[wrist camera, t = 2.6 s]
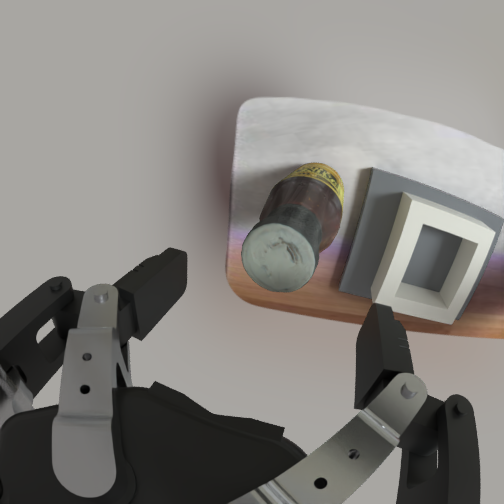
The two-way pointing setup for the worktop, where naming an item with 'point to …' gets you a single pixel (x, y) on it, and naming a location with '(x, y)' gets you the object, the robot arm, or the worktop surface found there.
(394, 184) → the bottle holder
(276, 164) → the worktop surface
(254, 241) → the sauce bottle
